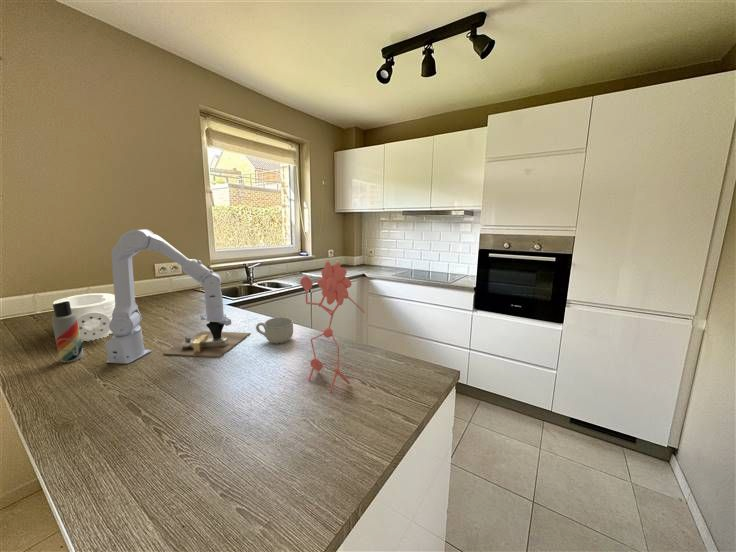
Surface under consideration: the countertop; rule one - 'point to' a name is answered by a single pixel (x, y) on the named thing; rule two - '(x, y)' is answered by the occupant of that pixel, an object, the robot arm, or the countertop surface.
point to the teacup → (277, 329)
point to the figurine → (332, 289)
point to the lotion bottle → (67, 333)
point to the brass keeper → (199, 344)
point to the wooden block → (205, 342)
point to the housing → (92, 314)
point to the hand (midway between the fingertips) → (217, 340)
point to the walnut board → (209, 351)
